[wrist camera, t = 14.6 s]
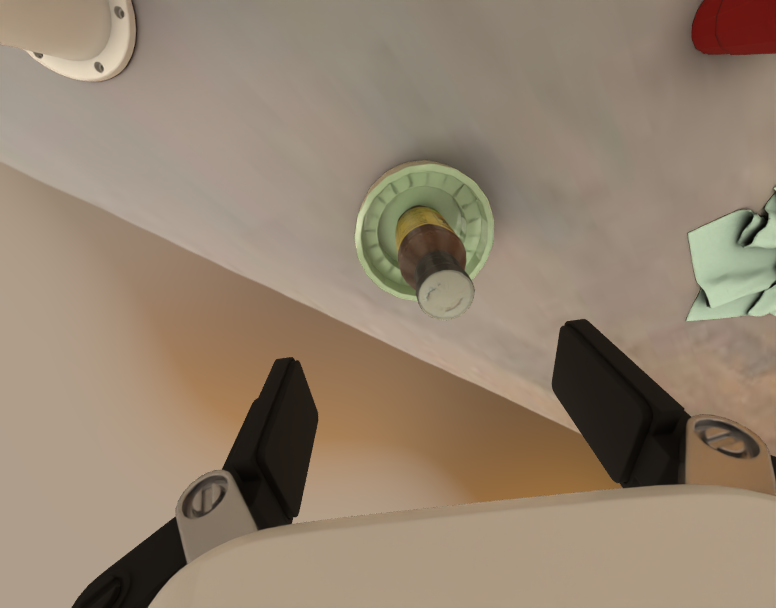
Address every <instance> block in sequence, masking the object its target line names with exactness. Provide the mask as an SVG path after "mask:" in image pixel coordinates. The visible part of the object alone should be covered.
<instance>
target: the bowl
mask: <svg viewBox="0 0 776 608" xmlns="http://www.w3.org/2000/svg"><path fill="white" fill-rule="evenodd" d="M418 205H420V206H427V207H430V208H433V209H435V210H436V211H437V212H439V213H440V214H441V215H442V216H443V218H444V219H445V220H446V222H447V223H448V224H449V226H450V227H451V228H452V229H453V231H454V232H455V233H456V234H457V236H458V237H459V238H460V240H461V241H462V243H463V245H464V247H465V250H466V267H465V272H466V273H467V274H468V275H469V277H470V279H471V280H473V279H474V277H475V276H476V275H477V273H478V272H479V271H480V270H481V268H482V267H483V266H484V264H485V263H486V261H487V258H488V255H489V253H490V250H491V247H492V245H493V237H494V218H493V214H492V211H491V208H490V204H489V201H488V199H487V197H486V196H485V195H484V193H483V192H482V190H481V189H480V188H479V186H478V185H477V184H476V182H475V181H473V180H472V179H470V178H469V177H467V176H466V175H464V174H463V173H461V172H460V171H458V170H457V169H455V168H453V167H451V166H449V165H446V164H442V163H438V162H434V161H429V160H421V161H412V162H405V163H403V164H401V165H399V166H397V167H395V168H392V169H390V170H388V171H386V172H385V173H384V174H383V175H382V176H381V177H380V178H379V179H378V180H377V181H376V182H375V183H374V184H373V185H372V186H371V187H370V189H369V190H368V192H367V194H366V196H365V198H364V200H363V202H362V204H361V207H360V210H359V213H358V217H357V223H356V229H355V236H354V238H355V244H356V250H357V256H358V259H359V261H360V263H361V265H362V267H363V268H364V270H365V272H366V274H367V276H368V277H369V278H370V279H371V280H372V281H373V282H374V283H375V284H376V285H378V286H379V287H380V288H381V289H382V290H384V291H386V292H388V293H390V294H392V295H394V296H396V297H398V298H402V299H408V300H413V301H418V300H417V297H416V290H415V289H413V288H412V287H411V286H409V285H408V284H407V283H406V281H405V280H404V278H403V276H402V275H401V271H400V267H399V262H398V257H397V247H396V237H395V231H396V226H397V222H398V219H399V217H400V216H401V215H402V214H403V213H404V212H405V211H406V210H408V209H410V208H411V207H413V206H418Z"/></svg>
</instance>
